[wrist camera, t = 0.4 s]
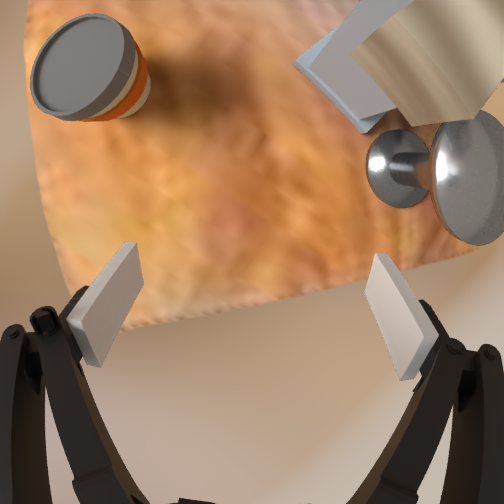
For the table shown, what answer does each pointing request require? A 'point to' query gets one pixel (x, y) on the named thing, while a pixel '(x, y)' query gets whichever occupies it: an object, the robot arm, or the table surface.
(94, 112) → the reusable coffee cup
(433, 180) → the metal pedestal stand
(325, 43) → the stand
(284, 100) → the table surface
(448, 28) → the beech bar
